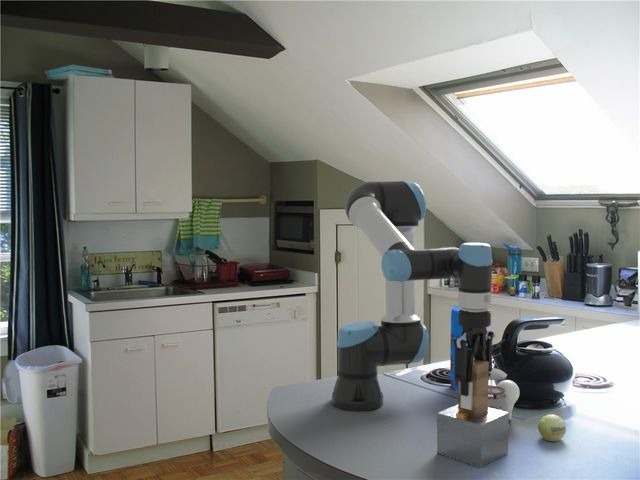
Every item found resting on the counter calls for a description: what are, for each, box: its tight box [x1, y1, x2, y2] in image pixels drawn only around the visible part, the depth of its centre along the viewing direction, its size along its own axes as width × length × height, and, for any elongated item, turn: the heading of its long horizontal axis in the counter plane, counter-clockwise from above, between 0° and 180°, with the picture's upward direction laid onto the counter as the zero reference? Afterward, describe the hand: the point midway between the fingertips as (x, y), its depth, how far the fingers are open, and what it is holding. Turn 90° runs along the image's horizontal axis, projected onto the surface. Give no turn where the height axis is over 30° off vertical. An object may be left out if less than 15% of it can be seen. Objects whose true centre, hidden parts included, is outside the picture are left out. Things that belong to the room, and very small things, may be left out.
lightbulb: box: [495, 379, 520, 421], centre depth 190 cm, size 6×6×11 cm
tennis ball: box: [537, 413, 567, 442], centre depth 176 cm, size 6×7×7 cm
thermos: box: [449, 305, 475, 392], centre depth 218 cm, size 11×11×25 cm
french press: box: [488, 333, 510, 429], centre depth 186 cm, size 10×12×25 cm
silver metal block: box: [436, 404, 510, 468], centre depth 167 cm, size 12×12×11 cm
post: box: [457, 359, 489, 418], centre depth 166 cm, size 5×5×22 cm
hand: (473, 405), depth 166 cm, fingers closed on post, 5 cm apart
